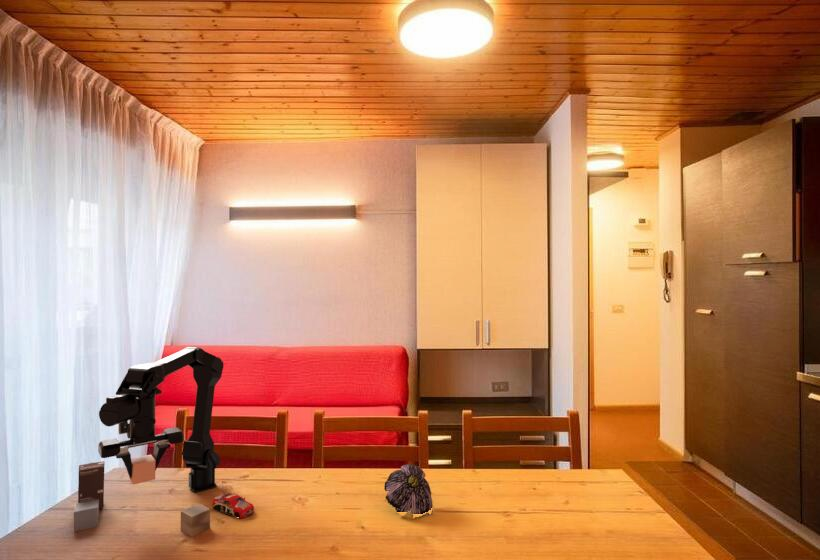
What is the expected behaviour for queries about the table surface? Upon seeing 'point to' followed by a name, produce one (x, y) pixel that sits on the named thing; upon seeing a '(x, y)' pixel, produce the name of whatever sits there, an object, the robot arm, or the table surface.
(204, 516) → the metal block
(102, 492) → the box
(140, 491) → the table surface
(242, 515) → the race car
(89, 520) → the gray block
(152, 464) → the terracotta block
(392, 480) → the decorative flower
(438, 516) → the table surface
